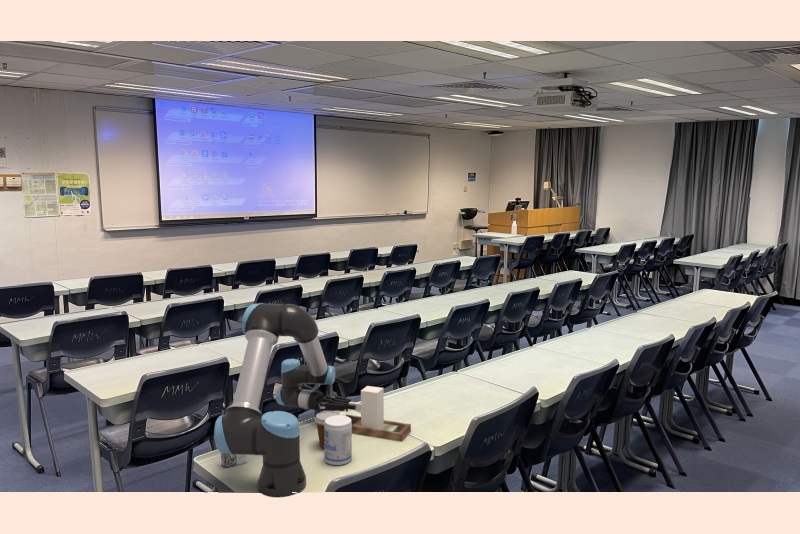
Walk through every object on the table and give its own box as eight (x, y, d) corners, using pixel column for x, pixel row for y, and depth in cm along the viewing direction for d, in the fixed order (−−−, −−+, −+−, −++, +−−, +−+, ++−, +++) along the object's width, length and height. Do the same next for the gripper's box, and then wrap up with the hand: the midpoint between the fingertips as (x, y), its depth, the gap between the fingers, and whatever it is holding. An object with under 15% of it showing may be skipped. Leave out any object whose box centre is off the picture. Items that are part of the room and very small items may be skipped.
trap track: (335, 430, 229) (335, 423, 228) (346, 421, 238) (346, 414, 238) (401, 441, 219) (401, 434, 218) (410, 431, 228) (410, 424, 228)
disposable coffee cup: (310, 448, 213) (309, 417, 211) (325, 438, 221) (324, 408, 220) (331, 454, 209) (331, 422, 207) (346, 443, 217) (345, 413, 215)
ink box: (247, 462, 202) (245, 422, 200) (224, 468, 198) (222, 428, 196) (243, 458, 205) (242, 419, 203) (221, 464, 201) (219, 424, 199)
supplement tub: (319, 462, 202) (318, 422, 200) (334, 451, 211) (333, 412, 209) (342, 468, 198) (341, 427, 196) (357, 457, 206) (356, 417, 204)
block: (361, 427, 227) (360, 390, 225) (367, 422, 232) (367, 385, 230) (377, 430, 224) (377, 392, 222) (383, 424, 230) (383, 388, 228)
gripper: (319, 403, 244) (371, 410, 236) (303, 414, 232) (357, 422, 224) (319, 386, 243) (370, 393, 235) (303, 396, 231) (357, 404, 223)
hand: (364, 407), depth 229 cm, fingers closed
